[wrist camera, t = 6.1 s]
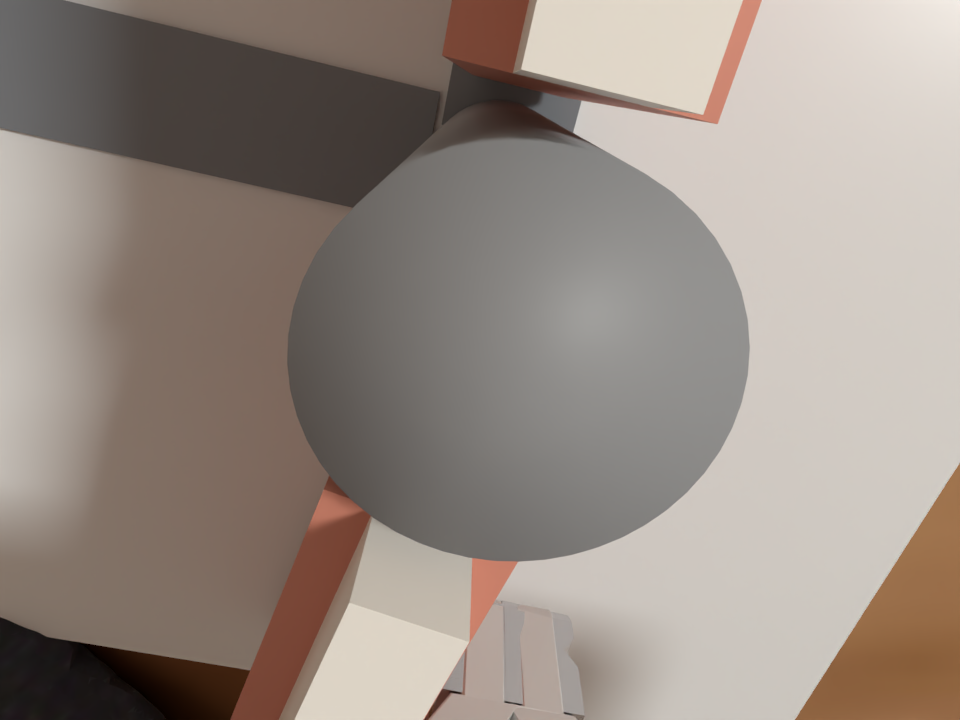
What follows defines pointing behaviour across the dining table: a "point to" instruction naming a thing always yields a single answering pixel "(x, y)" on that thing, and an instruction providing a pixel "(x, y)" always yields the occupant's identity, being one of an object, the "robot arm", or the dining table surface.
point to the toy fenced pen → (331, 196)
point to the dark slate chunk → (61, 681)
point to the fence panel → (366, 622)
